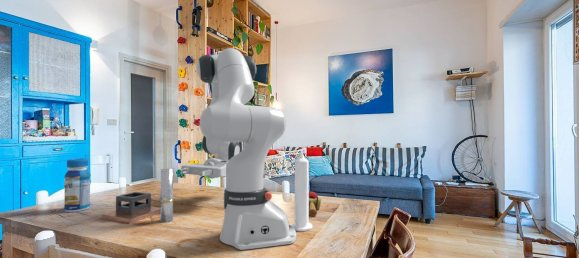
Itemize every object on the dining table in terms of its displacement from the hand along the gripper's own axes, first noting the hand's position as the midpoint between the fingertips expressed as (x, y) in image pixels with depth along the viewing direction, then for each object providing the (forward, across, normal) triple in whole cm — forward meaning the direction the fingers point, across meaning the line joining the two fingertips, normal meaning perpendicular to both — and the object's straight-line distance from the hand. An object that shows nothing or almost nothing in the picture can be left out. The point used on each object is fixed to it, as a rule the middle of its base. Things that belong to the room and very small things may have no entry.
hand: (191, 172), depth 105 cm
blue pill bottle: (+15, -43, +16) cm, 48 cm away
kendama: (-19, +44, +15) cm, 50 cm away
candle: (+2, +46, +14) cm, 49 cm away
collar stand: (+12, -16, +15) cm, 25 cm away
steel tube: (+12, 0, +15) cm, 19 cm away
